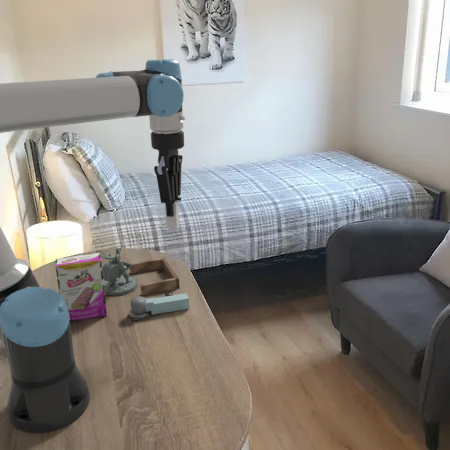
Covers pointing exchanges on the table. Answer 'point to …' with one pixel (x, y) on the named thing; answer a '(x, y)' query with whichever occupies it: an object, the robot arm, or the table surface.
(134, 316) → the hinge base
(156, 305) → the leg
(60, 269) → the candy bar box
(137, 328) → the table surface
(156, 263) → the seat frame
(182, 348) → the table surface
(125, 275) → the figurine
